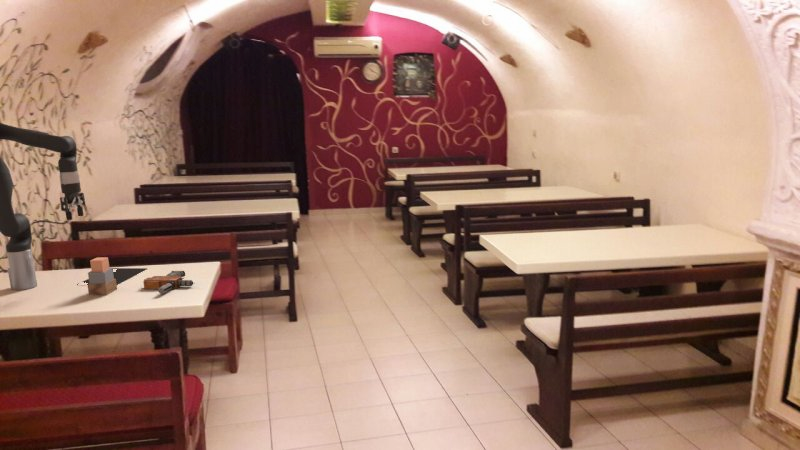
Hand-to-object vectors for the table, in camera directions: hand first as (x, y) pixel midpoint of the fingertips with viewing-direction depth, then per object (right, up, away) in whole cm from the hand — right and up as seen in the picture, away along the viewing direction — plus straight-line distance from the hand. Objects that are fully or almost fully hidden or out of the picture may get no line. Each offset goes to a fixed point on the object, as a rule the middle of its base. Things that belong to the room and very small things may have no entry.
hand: (75, 217), depth 262 cm
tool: (+47, -30, -3) cm, 56 cm away
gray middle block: (+17, -27, -10) cm, 34 cm away
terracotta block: (+17, -23, -11) cm, 30 cm away
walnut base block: (+17, -32, -9) cm, 38 cm away
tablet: (+10, -28, +14) cm, 33 cm away
